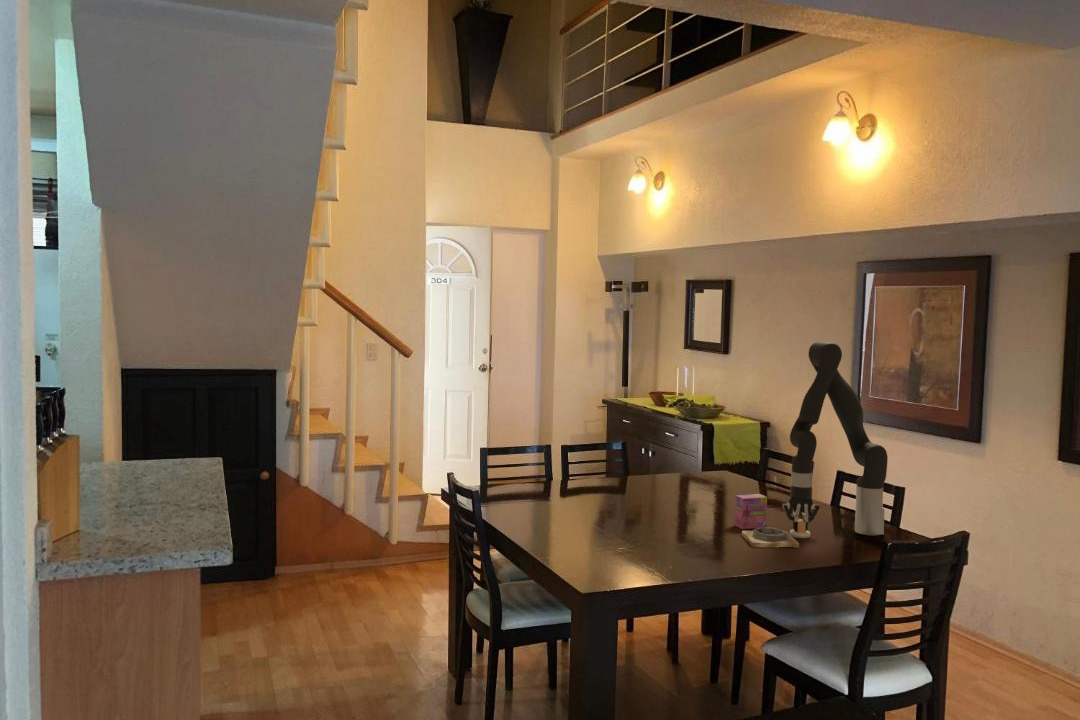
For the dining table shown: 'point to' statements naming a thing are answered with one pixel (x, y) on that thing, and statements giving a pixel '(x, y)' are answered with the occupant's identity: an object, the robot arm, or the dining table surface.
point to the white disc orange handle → (800, 530)
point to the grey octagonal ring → (765, 531)
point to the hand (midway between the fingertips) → (799, 531)
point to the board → (762, 543)
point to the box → (750, 511)
